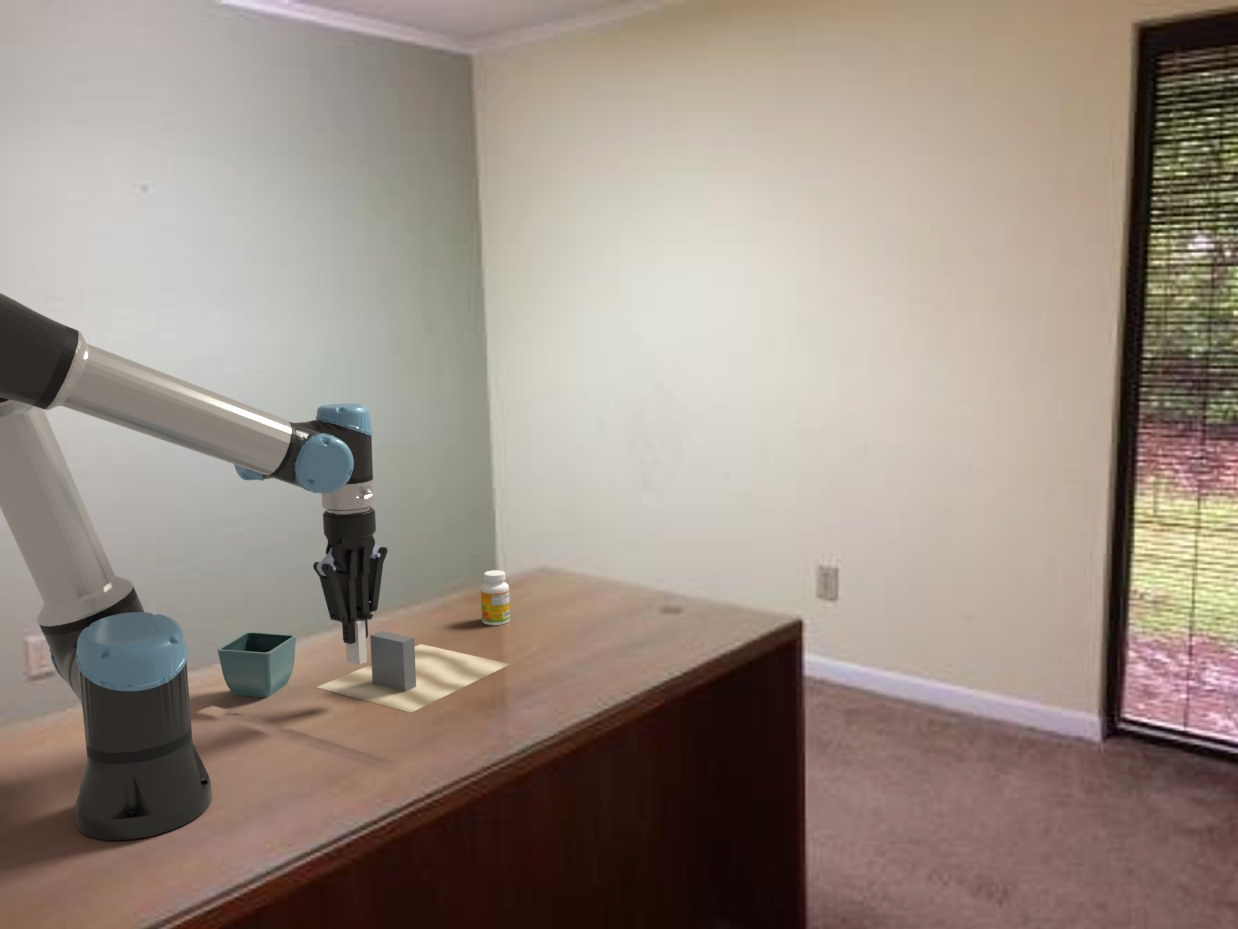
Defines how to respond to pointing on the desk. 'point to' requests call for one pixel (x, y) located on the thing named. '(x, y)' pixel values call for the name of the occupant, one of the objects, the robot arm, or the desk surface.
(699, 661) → the desk surface
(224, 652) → the flower pot
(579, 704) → the desk surface
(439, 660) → the board
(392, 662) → the tile
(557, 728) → the desk surface
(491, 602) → the supplement bottle
